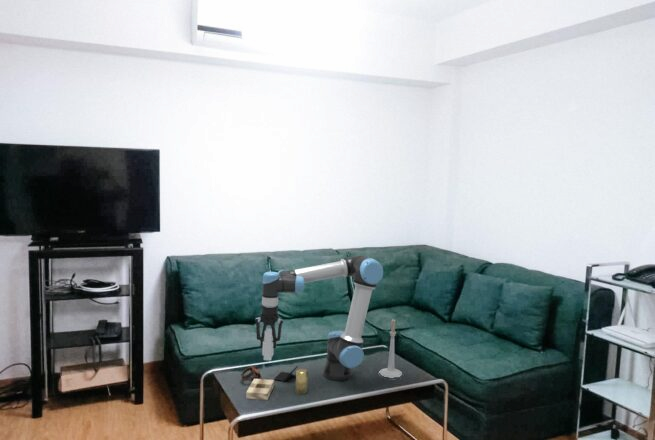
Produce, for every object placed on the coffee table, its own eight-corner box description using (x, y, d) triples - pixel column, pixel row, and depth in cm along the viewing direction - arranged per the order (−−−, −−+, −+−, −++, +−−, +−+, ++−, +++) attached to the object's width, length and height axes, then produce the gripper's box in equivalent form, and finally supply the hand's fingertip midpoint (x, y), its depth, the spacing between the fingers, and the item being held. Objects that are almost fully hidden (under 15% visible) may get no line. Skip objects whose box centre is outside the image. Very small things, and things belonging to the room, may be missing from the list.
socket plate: (273, 386, 246) (274, 380, 246) (267, 400, 230) (267, 393, 230) (253, 384, 247) (254, 378, 247) (246, 398, 231) (246, 392, 231)
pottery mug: (262, 386, 246) (254, 373, 244) (245, 392, 248) (237, 380, 246) (265, 371, 258) (258, 358, 255) (249, 377, 259) (241, 365, 257)
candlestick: (373, 373, 267) (376, 318, 265) (389, 368, 275) (392, 314, 273) (392, 381, 257) (394, 323, 255) (408, 375, 266) (410, 319, 263)
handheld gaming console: (277, 369, 263) (289, 357, 261) (288, 378, 263) (299, 365, 261) (271, 381, 252) (283, 368, 249) (283, 390, 252) (295, 377, 250)
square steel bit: (272, 358, 237) (273, 328, 236) (270, 360, 233) (272, 331, 232) (264, 357, 237) (266, 328, 236) (263, 360, 234) (264, 330, 233)
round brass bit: (307, 389, 243) (308, 369, 243) (306, 394, 238) (306, 373, 237) (296, 388, 244) (297, 368, 243) (294, 393, 238) (295, 372, 238)
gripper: (288, 304, 237) (286, 353, 238) (253, 302, 238) (252, 350, 239) (286, 308, 229) (284, 358, 231) (250, 306, 230) (248, 356, 232)
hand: (267, 354), depth 235 cm, fingers closed on square steel bit, 3 cm apart
